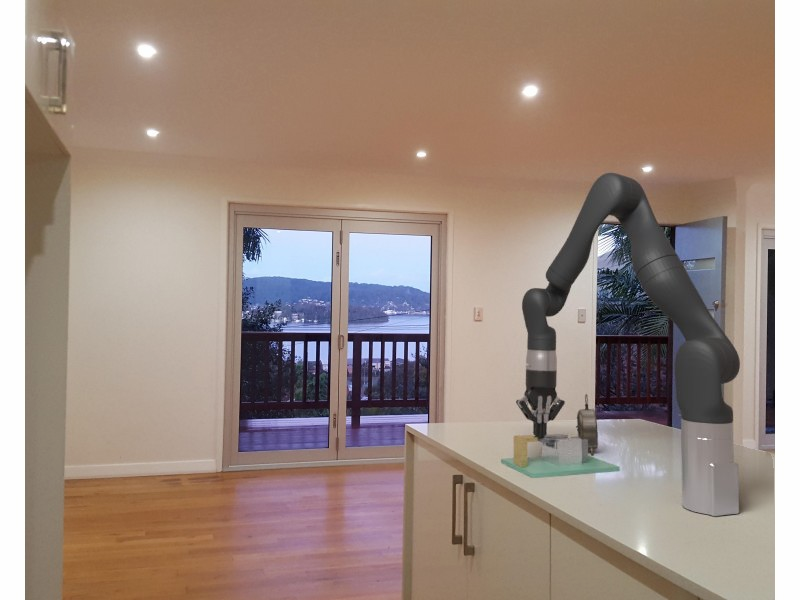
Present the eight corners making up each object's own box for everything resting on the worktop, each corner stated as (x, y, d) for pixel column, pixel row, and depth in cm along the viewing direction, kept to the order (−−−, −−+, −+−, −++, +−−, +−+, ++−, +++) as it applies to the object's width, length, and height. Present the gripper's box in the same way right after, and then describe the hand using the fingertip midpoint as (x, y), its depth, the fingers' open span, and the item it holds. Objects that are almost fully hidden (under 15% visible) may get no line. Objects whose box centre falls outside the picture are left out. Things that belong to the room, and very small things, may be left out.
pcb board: (619, 470, 152) (619, 466, 152) (532, 477, 145) (532, 473, 145) (581, 456, 167) (581, 453, 167) (501, 462, 160) (501, 458, 160)
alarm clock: (599, 456, 167) (598, 396, 168) (578, 455, 168) (577, 395, 169) (594, 448, 178) (594, 391, 179) (575, 447, 179) (574, 391, 180)
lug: (538, 466, 152) (538, 437, 152) (521, 467, 150) (521, 438, 151) (530, 462, 156) (530, 434, 156) (513, 463, 154) (513, 435, 154)
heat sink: (592, 464, 154) (592, 438, 154) (558, 466, 151) (558, 440, 151) (573, 457, 162) (573, 432, 162) (541, 459, 159) (541, 434, 159)
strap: (584, 446, 156) (585, 442, 156) (541, 442, 153) (541, 438, 153) (577, 444, 159) (577, 440, 159) (534, 440, 156) (535, 436, 156)
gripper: (524, 369, 149) (523, 441, 149) (572, 369, 153) (571, 439, 153) (510, 366, 157) (508, 435, 156) (556, 366, 161) (555, 434, 160)
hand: (539, 437), depth 155 cm, fingers closed
